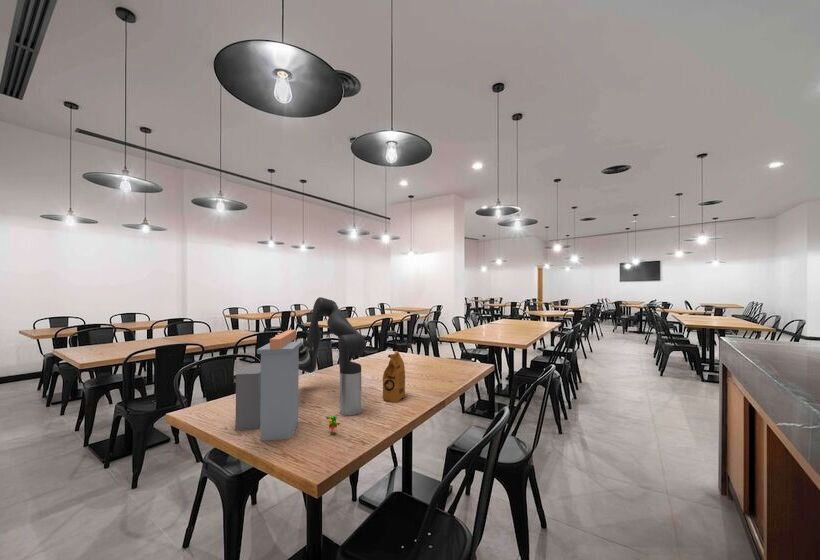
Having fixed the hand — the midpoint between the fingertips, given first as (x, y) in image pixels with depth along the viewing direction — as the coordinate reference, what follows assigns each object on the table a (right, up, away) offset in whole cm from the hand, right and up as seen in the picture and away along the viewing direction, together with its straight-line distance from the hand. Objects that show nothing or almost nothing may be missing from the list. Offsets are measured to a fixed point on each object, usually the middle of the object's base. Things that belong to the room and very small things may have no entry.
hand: (294, 341), depth 145 cm
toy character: (+22, -30, -25) cm, 45 cm away
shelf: (-12, -30, -12) cm, 34 cm away
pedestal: (+3, -29, -23) cm, 37 cm away
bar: (+2, +3, -17) cm, 17 cm away
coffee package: (+44, -30, +14) cm, 55 cm away
